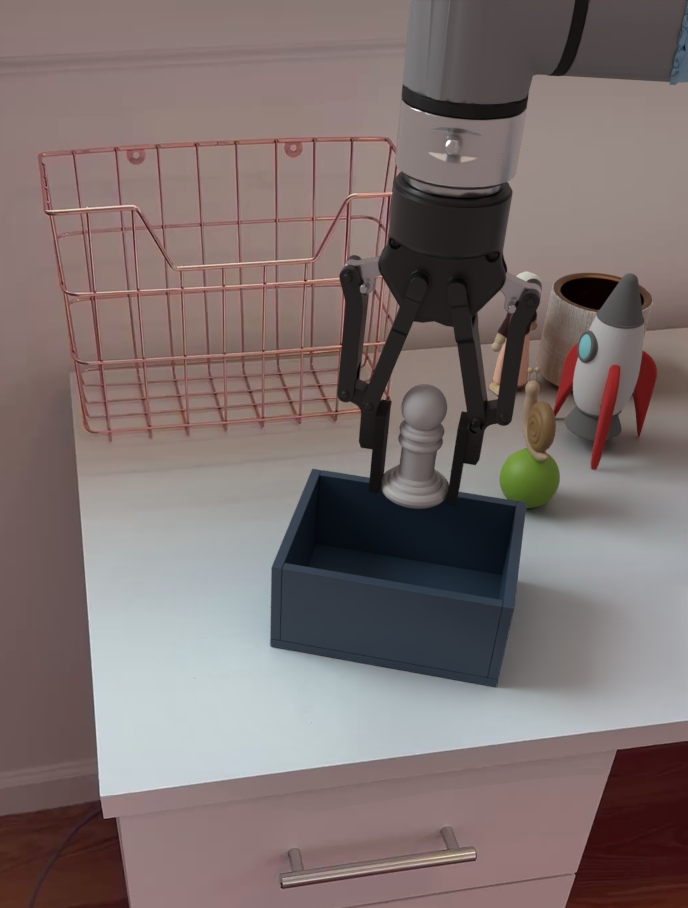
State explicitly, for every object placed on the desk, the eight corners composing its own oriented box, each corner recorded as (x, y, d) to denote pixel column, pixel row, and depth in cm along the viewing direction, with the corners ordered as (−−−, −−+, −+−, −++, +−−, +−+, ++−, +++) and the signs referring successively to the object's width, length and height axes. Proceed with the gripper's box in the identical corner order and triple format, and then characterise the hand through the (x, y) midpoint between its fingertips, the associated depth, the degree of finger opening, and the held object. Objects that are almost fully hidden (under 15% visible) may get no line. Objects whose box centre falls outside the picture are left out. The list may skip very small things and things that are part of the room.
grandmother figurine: (511, 404, 110) (533, 289, 101) (478, 394, 111) (497, 280, 102) (537, 376, 115) (560, 264, 106) (505, 367, 116) (525, 255, 108)
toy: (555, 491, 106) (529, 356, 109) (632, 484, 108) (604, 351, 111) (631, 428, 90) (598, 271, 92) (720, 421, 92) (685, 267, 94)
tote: (510, 578, 87) (526, 502, 82) (496, 687, 77) (514, 608, 72) (308, 544, 90) (312, 468, 84) (269, 646, 80) (271, 567, 74)
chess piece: (406, 518, 77) (420, 412, 71) (366, 483, 80) (376, 378, 74) (462, 499, 79) (480, 395, 73) (421, 466, 83) (435, 363, 77)
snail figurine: (537, 478, 99) (562, 364, 91) (562, 517, 95) (591, 399, 87) (483, 483, 98) (504, 367, 90) (506, 522, 94) (530, 404, 85)
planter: (543, 396, 111) (560, 312, 105) (527, 350, 119) (543, 269, 113) (642, 400, 112) (666, 316, 105) (620, 354, 120) (641, 273, 113)
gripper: (297, 178, 62) (288, 497, 78) (601, 216, 60) (529, 536, 76) (323, 142, 68) (309, 446, 84) (603, 175, 66) (535, 481, 81)
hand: (414, 488), depth 80 cm, fingers closed on chess piece, 5 cm apart
